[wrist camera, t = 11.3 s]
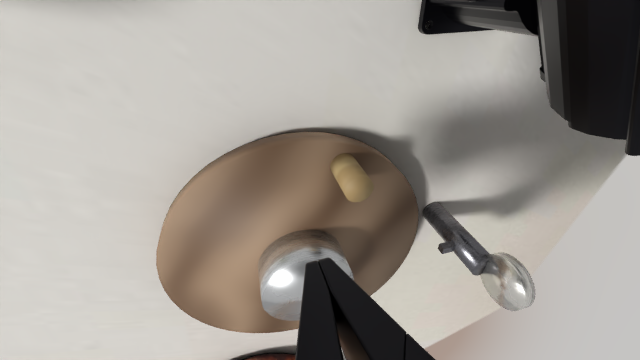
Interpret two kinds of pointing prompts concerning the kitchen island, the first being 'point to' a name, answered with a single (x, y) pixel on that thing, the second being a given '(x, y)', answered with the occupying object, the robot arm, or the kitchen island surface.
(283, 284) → the cover
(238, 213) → the disc
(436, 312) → the kitchen island surface
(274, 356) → the bread
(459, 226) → the ice cream scoop
